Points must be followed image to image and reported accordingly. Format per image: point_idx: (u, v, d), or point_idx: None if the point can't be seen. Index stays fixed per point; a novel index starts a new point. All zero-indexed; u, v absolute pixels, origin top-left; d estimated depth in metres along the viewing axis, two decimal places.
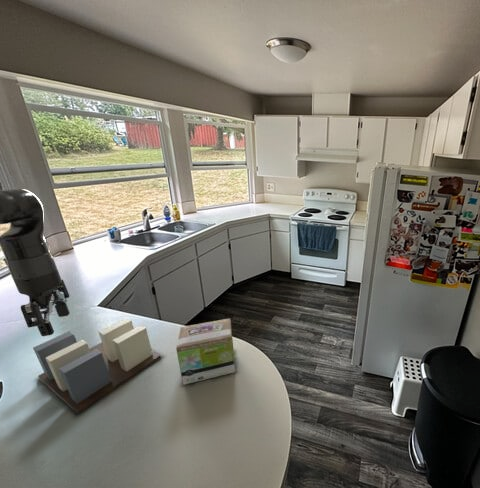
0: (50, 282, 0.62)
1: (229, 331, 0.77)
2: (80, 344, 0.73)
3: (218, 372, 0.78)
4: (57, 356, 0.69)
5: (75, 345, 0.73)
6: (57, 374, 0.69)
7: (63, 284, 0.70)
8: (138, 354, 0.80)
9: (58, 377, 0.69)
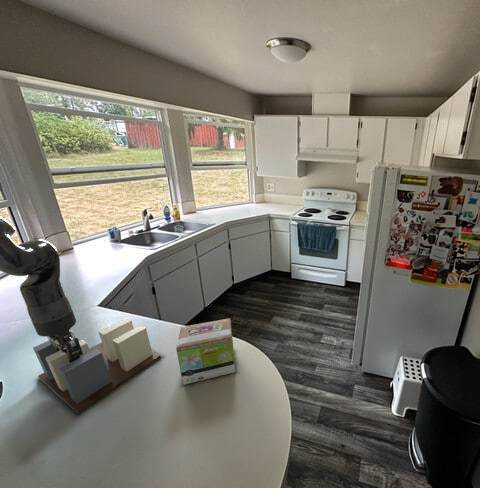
0: (73, 318, 0.69)
1: (229, 331, 0.77)
2: (80, 344, 0.73)
3: (218, 372, 0.78)
4: (57, 356, 0.69)
5: None
6: (57, 374, 0.69)
7: None
8: (138, 354, 0.80)
9: (58, 377, 0.69)
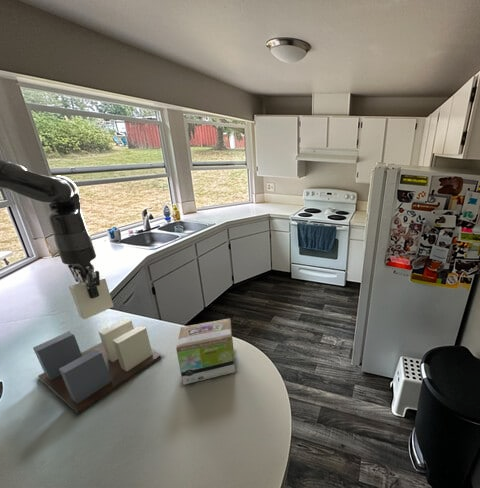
0: (94, 252, 0.77)
1: (229, 331, 0.77)
2: None
3: (218, 372, 0.78)
4: (79, 285, 0.76)
5: None
6: (79, 302, 0.76)
7: None
8: (138, 354, 0.80)
9: (80, 305, 0.77)
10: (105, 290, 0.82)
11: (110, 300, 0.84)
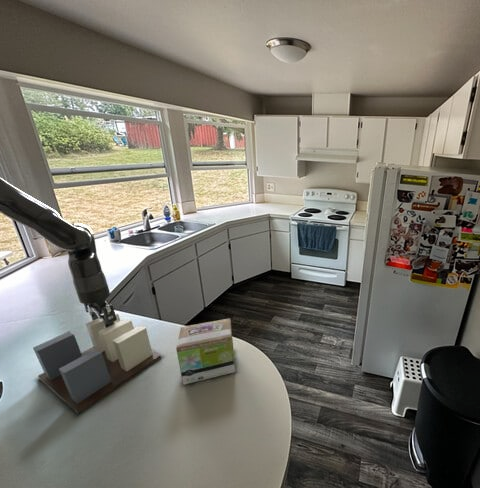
0: (108, 290, 0.83)
1: (229, 331, 0.77)
2: None
3: (218, 372, 0.78)
4: (95, 323, 0.82)
5: None
6: (95, 338, 0.82)
7: None
8: (138, 354, 0.80)
9: (96, 340, 0.83)
10: None
11: None
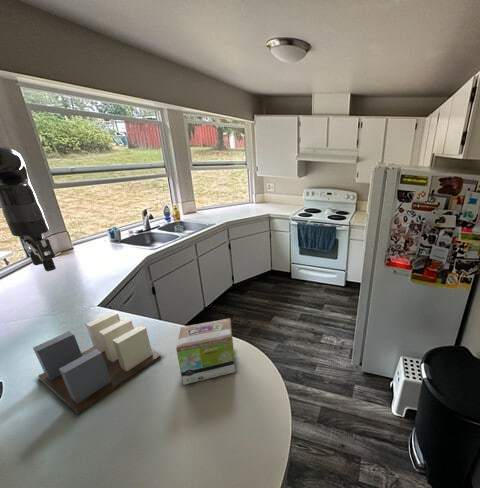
0: (46, 225, 0.77)
1: (229, 331, 0.77)
2: (112, 314, 0.87)
3: (218, 372, 0.78)
4: (95, 323, 0.82)
5: (108, 315, 0.86)
6: (95, 338, 0.82)
7: None
8: (138, 354, 0.80)
9: (96, 340, 0.83)
10: None
11: None
